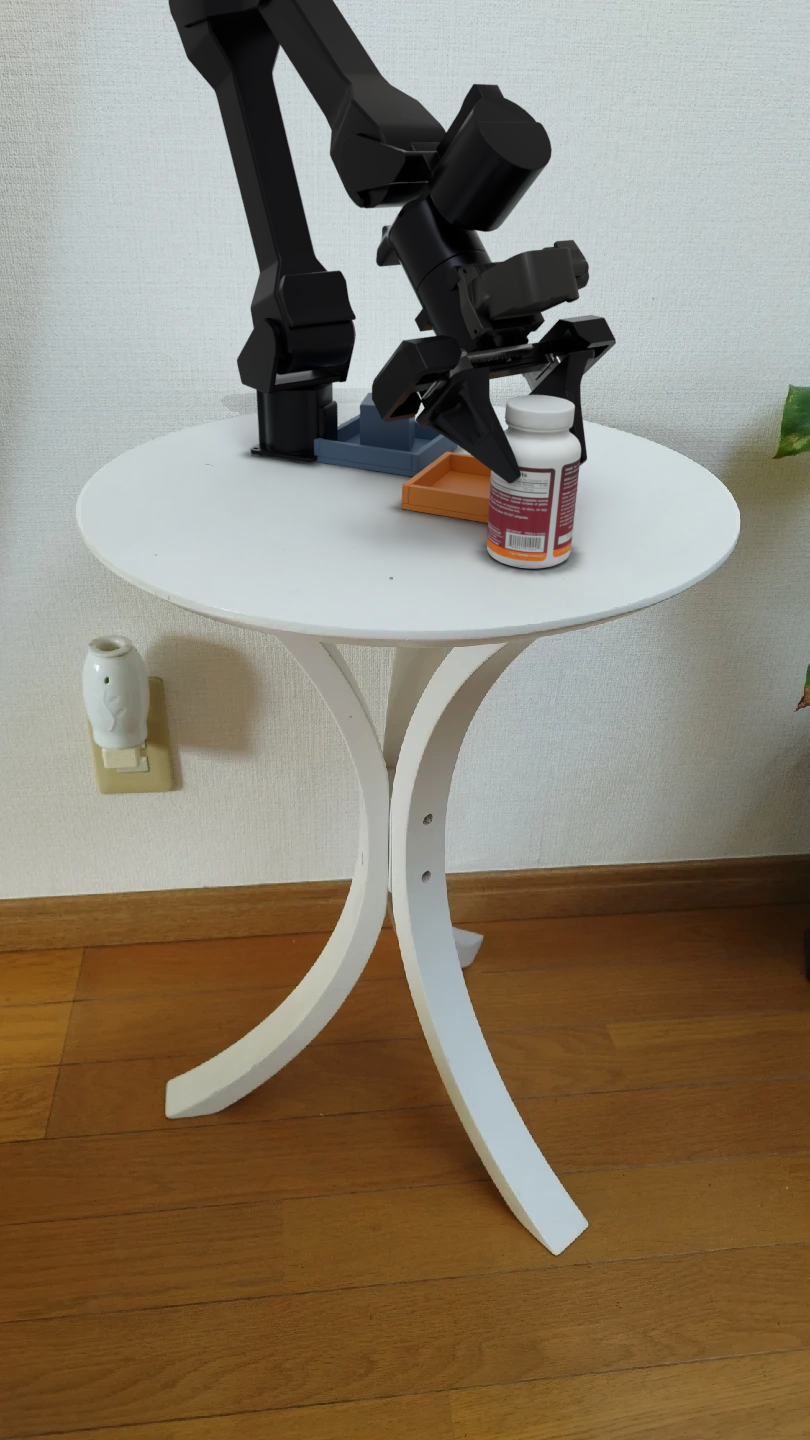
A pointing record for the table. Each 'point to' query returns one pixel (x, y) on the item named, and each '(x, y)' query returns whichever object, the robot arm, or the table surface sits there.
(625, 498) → the table surface
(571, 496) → the pill bottle
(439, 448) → the slate tray
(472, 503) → the amber tray
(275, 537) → the table surface
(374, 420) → the slate block
